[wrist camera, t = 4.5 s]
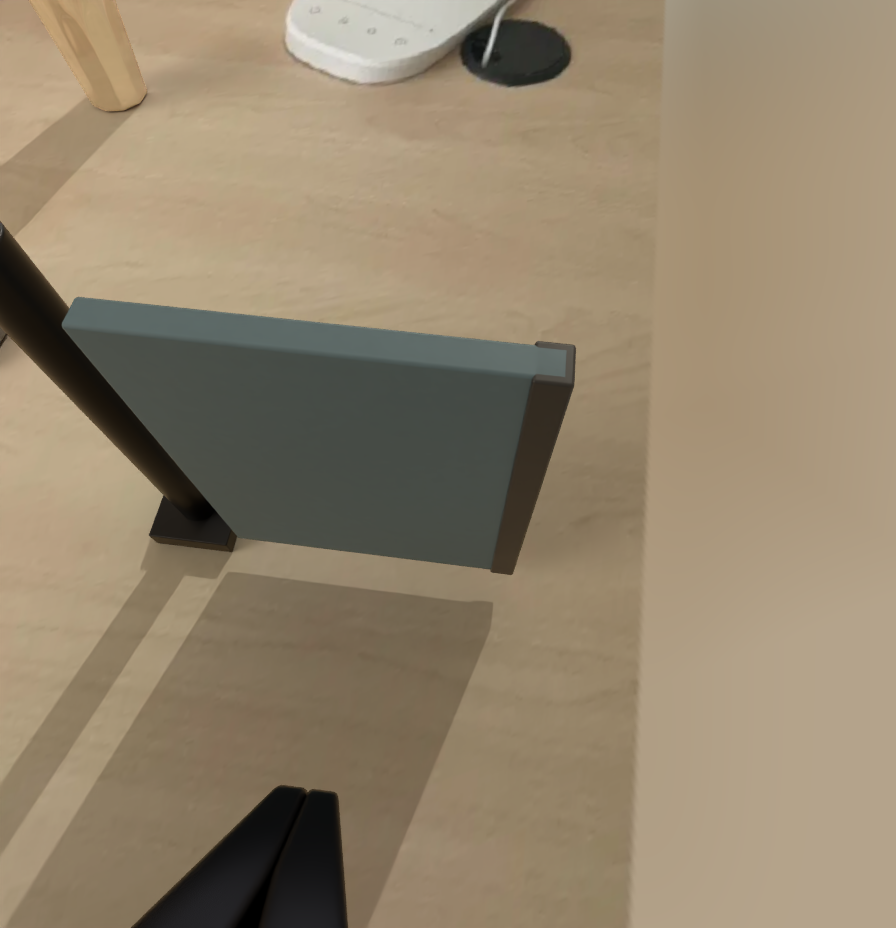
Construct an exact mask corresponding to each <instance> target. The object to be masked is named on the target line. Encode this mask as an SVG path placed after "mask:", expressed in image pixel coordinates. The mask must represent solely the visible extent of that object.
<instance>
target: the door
mask: <svg viewBox="0 0 896 928" xmlns="http://www.w3.org/2000/svg"><path fill="white" fill-rule="evenodd" d="M62 328H63V329H64V330H65V331H66V333H67V334H68V335H69V336H70V337H71V339H72V340H73V341H74V342H75V343H76V345H77V346H78V347H79V348H80V349H81V351H82V352H83V353H84V354H85V355H86V357H87V358H88V359H89V360H90V361H91V362H92V364H93V365H94V366H95V367H96V368H97V370H98V371H99V372H100V373H101V374H102V376H103V377H104V378H105V379H106V380H107V382H108V383H109V384H110V385H111V386H112V388H113V389H114V390H115V391H116V392H117V393H118V395H119V396H120V397H121V398H122V399H123V401H124V402H125V403H126V404H127V405H128V407H129V408H130V409H131V410H132V411H133V413H134V414H135V415H136V416H137V417H138V418H139V420H140V421H141V422H142V423H143V424H144V426H145V427H146V428H147V429H148V430H149V432H150V433H151V434H152V435H153V436H154V438H155V439H156V440H157V441H158V442H159V444H160V445H161V446H162V447H163V448H164V449H165V451H166V452H167V453H168V454H169V455H170V457H171V458H172V459H173V460H174V461H175V463H176V464H177V465H178V466H179V467H180V469H181V470H182V471H183V472H184V473H185V475H186V476H187V477H188V478H189V479H190V480H191V482H192V483H193V484H194V485H195V486H196V488H197V489H198V490H199V491H200V492H201V494H202V495H203V496H204V497H205V498H206V500H207V501H208V502H209V503H210V504H211V506H212V507H213V508H214V509H215V510H216V511H217V513H218V514H219V515H220V516H221V517H222V519H223V520H224V521H225V522H226V523H227V525H228V526H229V527H230V528H231V529H232V531H233V532H234V533H235V534H236V535H237V537H239V538H244V539H252V540H260V541H268V542H276V543H284V544H292V545H300V546H308V547H316V548H324V549H332V550H340V551H348V552H356V553H364V554H372V555H380V556H388V557H396V558H404V559H412V560H420V561H428V562H436V563H443V564H451V565H459V566H467V567H475V568H483V569H491V572H492V573H500V574H508V575H512V574H513V571H514V568H515V565H516V562H517V559H518V556H519V553H520V550H521V547H522V544H523V541H524V538H525V535H526V532H527V529H528V525H529V522H530V519H531V516H532V513H533V510H534V507H535V504H536V501H537V498H538V495H539V492H540V489H541V486H542V483H543V480H544V477H545V473H546V470H547V467H548V464H549V461H550V458H551V455H552V452H553V449H554V446H555V443H556V440H557V437H558V434H559V431H560V428H561V424H562V421H563V418H564V415H565V412H566V409H567V406H568V403H569V400H570V397H571V394H572V391H573V388H574V380H575V358H576V348H575V346H574V345H570V344H561V343H551V342H542V341H537V342H536V343H535V345H527V344H518V343H508V342H499V341H490V340H480V339H471V338H461V337H452V336H442V335H433V334H424V333H414V332H405V331H395V330H386V329H376V328H367V327H357V326H348V325H339V324H329V323H320V322H310V321H301V320H291V319H282V318H273V317H263V316H254V315H244V314H235V313H225V312H216V311H207V310H197V309H188V308H178V307H169V306H159V305H150V304H140V303H131V302H122V301H112V300H103V299H93V298H84V297H76V298H75V299H74V301H73V303H72V305H71V307H70V309H69V311H68V313H67V314H66V316H65V318H64V320H63V322H62Z"/></svg>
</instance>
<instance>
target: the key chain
mask: <svg viewBox="0 0 896 928" xmlns="http://www.w3.org/2000/svg"><path fill="white" fill-rule="evenodd" d="M5 335H6V333H5V332H4V331H3V330H2V329H1V328H0V342H1V341H2V339H3V338H4V336H5Z"/></svg>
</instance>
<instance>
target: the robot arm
mask: <svg viewBox="0 0 896 928" xmlns="http://www.w3.org/2000/svg"><path fill="white" fill-rule="evenodd" d="M131 928H348V921H347V907H346V894H345V880H344V867H343V853H342V840H341V826H340V813H339V800H338V795H337V793H335V792H331V791H324V790H316V789H312V790H310V791H309V792H307V790H306V789H304V788H301V787H294V786H286V785H280V786H277V787H276V788H274V789H273V790H272V791H271V792H270V793H269V794H268V795H267V796H266V797H265V798H264V799H263V800H262V801H261V802H260V803H259V804H258V805H257V806H256V807H255V808H254V809H253V810H252V811H251V812H250V813H249V814H248V815H247V816H245V817H244V818H243V819H242V820H241V821H240V822H239V823H238V824H237V825H236V826H235V827H234V828H233V829H232V830H231V831H230V832H229V833H228V834H227V835H226V836H225V837H224V838H223V839H222V840H221V841H220V842H219V843H218V844H217V845H216V846H215V847H214V848H212V849H211V850H210V851H209V852H208V853H207V854H206V855H205V856H204V857H203V858H202V859H201V860H200V861H199V862H198V863H197V864H196V865H195V866H194V867H193V868H192V869H191V870H190V871H189V872H188V873H187V874H186V875H185V876H184V877H183V878H182V879H181V880H180V881H178V882H177V883H176V884H175V885H174V886H173V887H172V888H171V889H170V890H169V891H168V892H167V893H166V894H165V895H164V896H163V897H162V898H161V899H160V900H159V901H158V902H157V903H156V904H155V905H154V906H153V907H152V908H151V909H150V910H149V911H148V912H147V913H145V914H144V915H143V916H142V917H141V918H140V919H139V920H138V921H137V922H136V923H135V924H134V925H133V926H132V927H131Z"/></svg>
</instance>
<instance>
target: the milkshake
mask: <svg viewBox="0 0 896 928" xmlns="http://www.w3.org/2000/svg"><path fill="white" fill-rule="evenodd" d="M28 1H29V2H30V4H31V5H32V7H33V8H34V10H35V12H36V13H37V15H38V16H39V18H40V20H41V21H42V23H43V25H44V26H45V28H46V29H47V31H48V33H49V34H50V36H51V38H52V39H53V41H54V43H55V44H56V46H57V48H58V49H59V51H60V53H61V54H62V56H63V58H64V59H65V61H66V62H67V64H68V66H69V67H70V69H71V71H72V72H73V74H74V76H75V77H76V79H77V81H78V82H79V84H80V86H81V87H82V89H83V90H84V92H85V94H86V95H87V97H88V99H89V100H90V102H91V104H92V105H93V106H95V107H97V108H100V109H102V110H104V111H107V112H108V111H123V110H126V109H129V108H131V107H133V106H135V105H137V104H139V103H140V102H141V101H142V99H143V98H144V96H145V95H146V93H147V89H146V86H145V83H144V80H143V77H142V74H141V72H140V69H139V66H138V63H137V60H136V58H135V55H134V52H133V49H132V46H131V43H130V41H129V38H128V35H127V32H126V29H125V26H124V24H123V21H122V18H121V15H120V12H119V9H118V6H117V3H116V0H28Z"/></svg>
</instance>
